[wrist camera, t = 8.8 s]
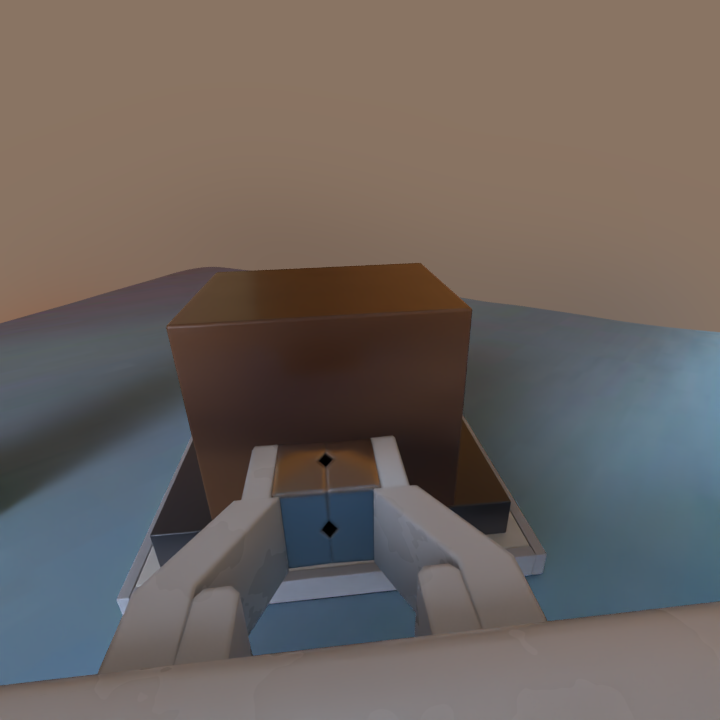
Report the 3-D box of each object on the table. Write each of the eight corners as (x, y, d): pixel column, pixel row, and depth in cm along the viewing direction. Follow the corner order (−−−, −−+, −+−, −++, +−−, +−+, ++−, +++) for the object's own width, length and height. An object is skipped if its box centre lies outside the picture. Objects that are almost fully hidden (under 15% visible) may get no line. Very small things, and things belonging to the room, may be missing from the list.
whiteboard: (412, 343, 33) (413, 331, 33) (542, 574, 14) (547, 554, 14) (236, 354, 32) (234, 342, 32) (124, 620, 13) (115, 600, 13)
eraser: (455, 435, 20) (470, 260, 17) (506, 533, 15) (545, 304, 11) (203, 456, 19) (161, 274, 16) (159, 568, 14) (80, 330, 10)
